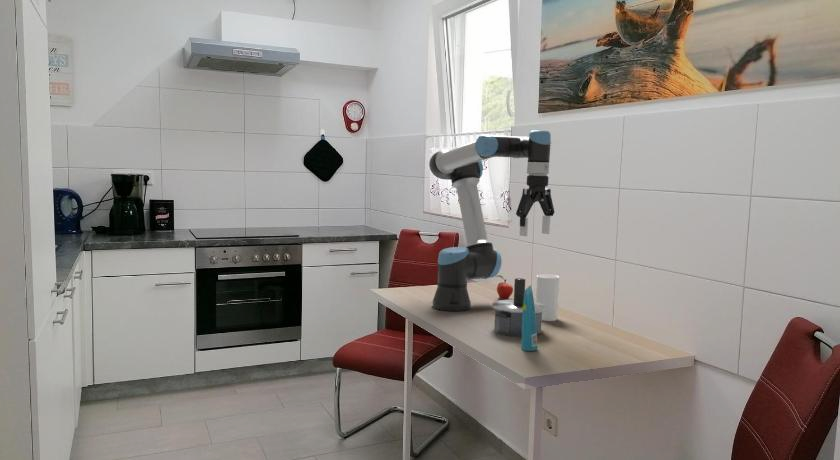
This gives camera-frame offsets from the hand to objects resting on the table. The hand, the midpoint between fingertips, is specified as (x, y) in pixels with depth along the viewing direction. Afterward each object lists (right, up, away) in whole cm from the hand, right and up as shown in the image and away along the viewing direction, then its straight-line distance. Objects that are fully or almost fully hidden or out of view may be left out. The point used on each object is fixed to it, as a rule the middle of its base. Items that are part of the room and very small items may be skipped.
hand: (534, 234), depth 220 cm
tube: (-7, -35, -31) cm, 47 cm away
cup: (+6, -31, +10) cm, 34 cm away
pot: (-7, -33, -9) cm, 35 cm away
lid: (-7, -25, -10) cm, 28 cm away
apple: (-5, -28, +43) cm, 52 cm away
